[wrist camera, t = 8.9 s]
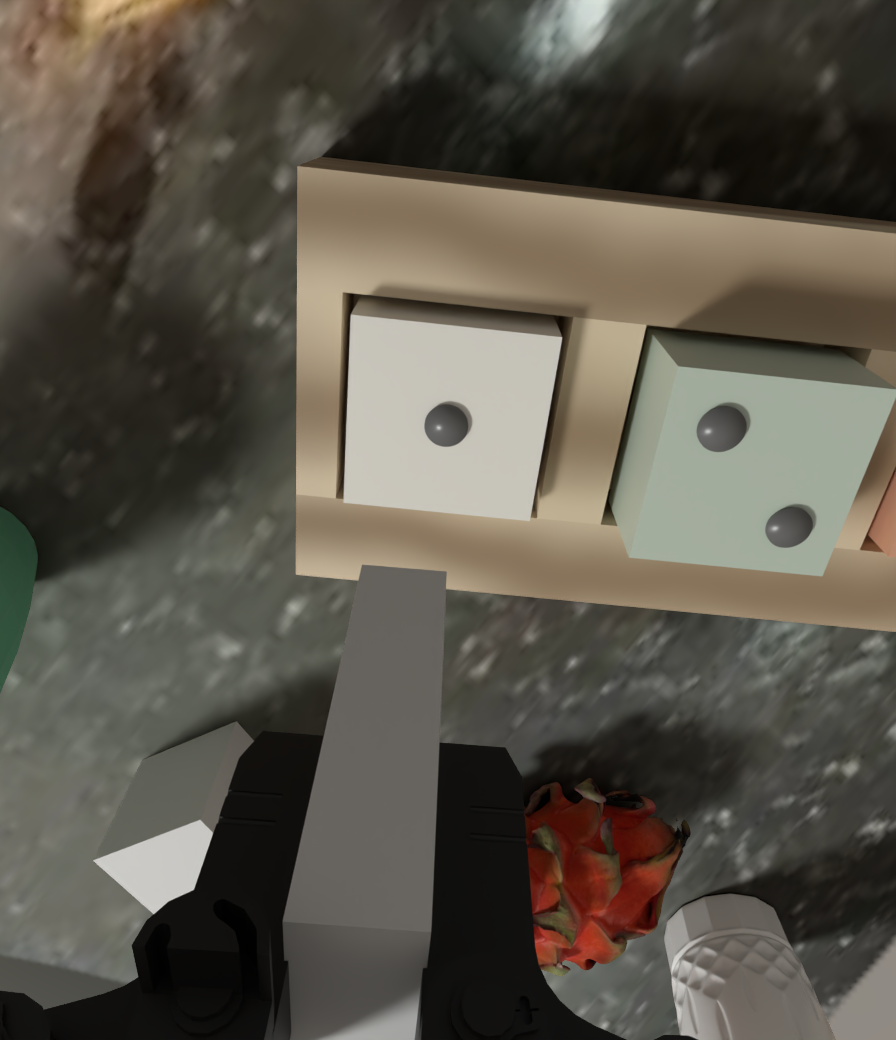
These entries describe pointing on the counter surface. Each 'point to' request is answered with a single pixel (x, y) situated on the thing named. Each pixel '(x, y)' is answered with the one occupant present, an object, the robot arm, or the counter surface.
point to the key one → (447, 406)
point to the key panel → (581, 369)
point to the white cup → (739, 974)
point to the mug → (14, 586)
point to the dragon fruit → (596, 873)
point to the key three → (886, 520)
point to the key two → (744, 451)
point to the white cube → (171, 816)
